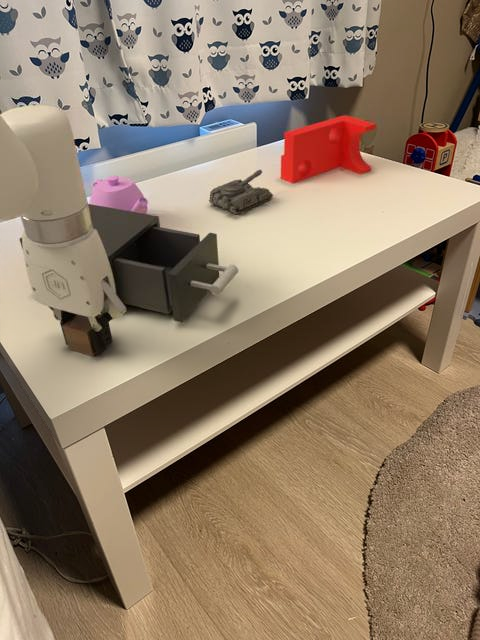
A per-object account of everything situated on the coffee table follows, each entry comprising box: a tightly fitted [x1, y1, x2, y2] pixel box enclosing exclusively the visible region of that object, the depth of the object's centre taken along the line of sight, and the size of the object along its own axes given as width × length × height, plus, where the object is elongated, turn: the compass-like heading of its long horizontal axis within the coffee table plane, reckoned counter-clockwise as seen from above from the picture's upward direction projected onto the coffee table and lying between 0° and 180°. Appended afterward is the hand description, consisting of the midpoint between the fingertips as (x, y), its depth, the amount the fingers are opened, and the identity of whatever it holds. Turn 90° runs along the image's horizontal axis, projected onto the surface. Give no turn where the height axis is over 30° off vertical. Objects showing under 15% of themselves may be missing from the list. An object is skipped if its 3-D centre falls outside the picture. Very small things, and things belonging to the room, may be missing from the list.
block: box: [62, 313, 101, 357], centre depth 70 cm, size 4×4×4 cm
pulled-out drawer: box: [112, 226, 239, 323], centre depth 77 cm, size 19×12×8 cm, turn 66°
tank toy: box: [208, 169, 274, 215], centre depth 105 cm, size 12×10×5 cm
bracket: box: [280, 114, 377, 184], centre depth 114 cm, size 18×10×10 cm
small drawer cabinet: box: [19, 203, 161, 308], centre depth 82 cm, size 16×14×10 cm
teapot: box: [88, 175, 149, 214], centre depth 97 cm, size 10×15×9 cm
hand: (89, 342), depth 71 cm, fingers closed on block, 4 cm apart
